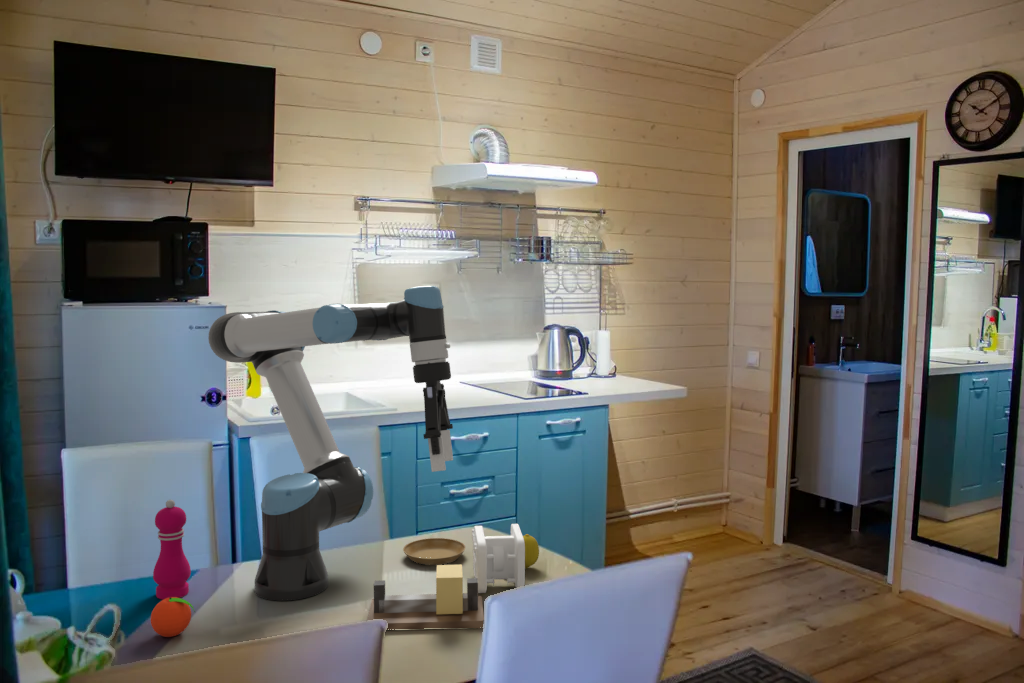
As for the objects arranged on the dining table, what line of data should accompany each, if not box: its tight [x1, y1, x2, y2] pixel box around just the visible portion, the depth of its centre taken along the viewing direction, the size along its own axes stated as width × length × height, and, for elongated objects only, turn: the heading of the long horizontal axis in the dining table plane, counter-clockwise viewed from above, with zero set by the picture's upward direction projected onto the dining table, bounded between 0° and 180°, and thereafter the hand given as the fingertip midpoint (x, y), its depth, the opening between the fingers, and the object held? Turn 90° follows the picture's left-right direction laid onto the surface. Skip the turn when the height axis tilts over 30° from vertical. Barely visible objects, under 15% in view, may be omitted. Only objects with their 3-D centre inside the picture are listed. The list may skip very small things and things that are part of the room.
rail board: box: [366, 577, 485, 630], centre depth 155 cm, size 22×12×7 cm, turn 95°
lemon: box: [522, 533, 540, 570], centre depth 182 cm, size 6×6×8 cm
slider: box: [435, 564, 464, 614], centre depth 155 cm, size 5×7×7 cm
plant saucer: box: [402, 537, 466, 566], centre depth 189 cm, size 15×15×3 cm
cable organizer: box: [471, 523, 526, 594], centre depth 172 cm, size 15×11×12 cm
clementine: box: [150, 597, 196, 638], centre depth 146 cm, size 8×7×7 cm
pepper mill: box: [152, 499, 192, 600], centre depth 165 cm, size 7×7×20 cm
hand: (443, 465), depth 162 cm, fingers open, 13 cm apart
